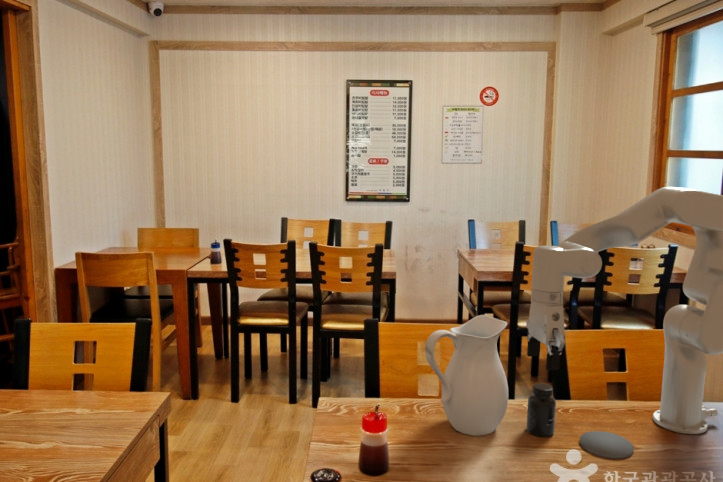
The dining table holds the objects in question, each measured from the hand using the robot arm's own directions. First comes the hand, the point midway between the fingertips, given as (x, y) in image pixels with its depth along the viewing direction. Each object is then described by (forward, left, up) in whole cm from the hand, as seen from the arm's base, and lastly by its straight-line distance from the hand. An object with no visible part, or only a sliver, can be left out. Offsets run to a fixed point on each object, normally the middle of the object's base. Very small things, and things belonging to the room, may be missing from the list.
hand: (542, 362), depth 146 cm
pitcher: (+19, -5, -19) cm, 27 cm away
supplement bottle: (0, 0, -19) cm, 19 cm away
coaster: (-12, +10, -18) cm, 24 cm away
